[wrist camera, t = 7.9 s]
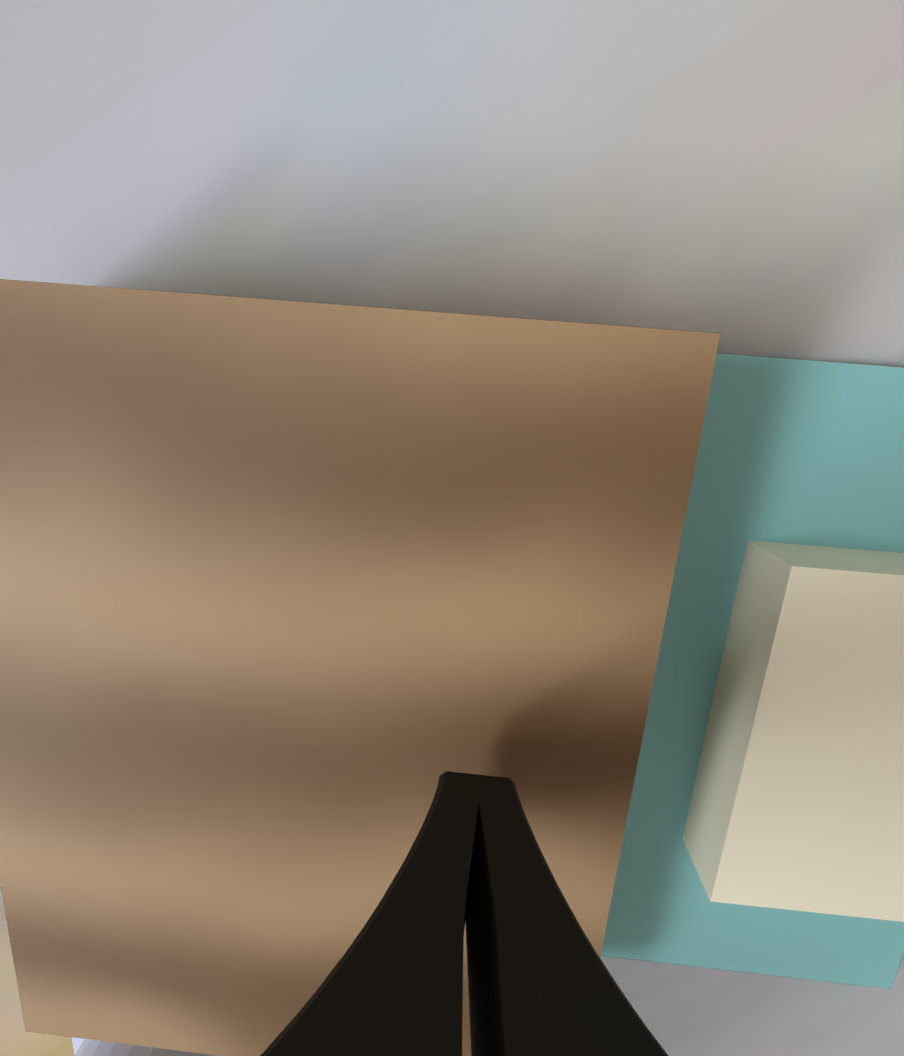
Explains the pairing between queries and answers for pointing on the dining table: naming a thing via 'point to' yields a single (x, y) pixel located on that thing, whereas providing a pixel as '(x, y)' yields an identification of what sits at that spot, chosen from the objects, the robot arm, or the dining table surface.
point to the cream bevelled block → (807, 737)
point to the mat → (700, 634)
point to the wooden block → (308, 626)
